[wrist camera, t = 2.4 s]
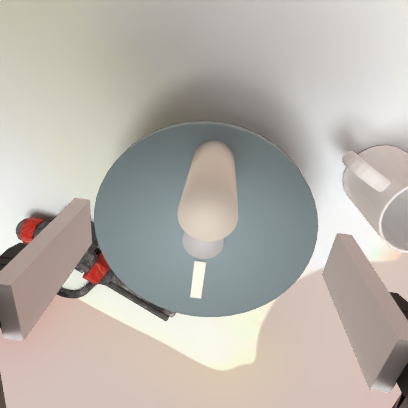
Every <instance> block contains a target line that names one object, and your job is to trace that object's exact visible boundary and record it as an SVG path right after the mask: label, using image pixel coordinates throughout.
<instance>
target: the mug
mask: <svg viewBox="0 0 408 408" xmlns="http://www.w3.org/2000/svg"><path fill="white" fill-rule="evenodd" d="M342 162H343V163H344V165H345V166H346V167H347V168H346V170H345V173H344V178H343V186H344V190H345V192H346V194H347V196H348V197H349V198H350V200H351V201H352V202H353V203H354V205H355V206H356V207H357V208H358V210H359V211H360V212H361V213H362V215H363V216H364V217H365V218H366V220H367V221H368V222H369V223H370V225H371V226H372V227H373V228H374V230H375V231H376V232H377V233H378V235H379V236H380V237H381V238H382V240H383V241H384V242H385V243H386V244H387V245H388V246H389V247H391V248H393V249H395V250H397V251H401V252H405V253H408V153H406V152H404V151H403V150H401V149H399V148H397V147H394V146H390V145H380V146H375V147H372V148H368V149H366V150H364V151H363V152H361V153H359V154H357V153H355V152H354V151H349V152H347V153H346V154H345V155H344V156H343V158H342Z"/></svg>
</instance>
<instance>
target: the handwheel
mask: <svg viewBox="0 0 408 408" xmlns="http://www.w3.org/2000/svg"><path fill="white" fill-rule="evenodd" d="M94 225H95V233H96V237H97V241H98V244H99V247H100V249H101V252H102V254H103V256H104V258H105V260H106V262H107V263H108V265H109V267H110V268H111V269H112V271H113V272H114V273H115V274H116V276H117V277H118V278H119V279H120V280H121V281H122V282H123V283H124V284H125V285H126V286H127V287H128V288H130V289H131V290H132V291H133V292H135V293H136V294H137V295H139V296H140V297H142V298H143V299H145V300H147V301H149V302H151V303H153V304H155V305H157V306H159V307H161V308H164V309H167V310H169V311H173V312H176V313H180V314H185V315H191V316H200V317H221V316H230V315H235V314H240V313H244V312H247V311H250V310H253V309H256V308H258V307H261V306H263V305H265V304H267V303H269V302H270V301H272V300H274V299H276V298H277V297H278V296H280V295H281V294H282V293H284V292H285V291H286V290H287V289H288V288H290V287H291V286H292V285H293V284H294V283H295V282H296V280H297V279H298V278H299V277H300V275H301V274H302V273H303V271H304V270H305V268H306V266H307V265H308V263H309V261H310V259H311V256H312V254H313V252H314V248H315V244H316V240H317V232H318V218H317V210H316V206H315V201H314V198H313V196H312V193H311V191H310V188H309V186H308V184H307V182H306V181H305V179H304V177H303V176H302V174H301V172H300V171H299V169H298V167H297V166H296V165H295V164H294V162H293V161H292V160H291V159H290V158H289V156H288V155H286V154H285V153H284V152H283V151H282V150H281V149H280V148H279V147H278V146H276V145H275V144H273V143H272V142H270V141H269V140H268V139H266V138H265V137H263V136H261V135H259V134H257V133H255V132H253V131H251V130H248V129H245V128H242V127H239V126H236V125H232V124H226V123H221V122H211V121H196V122H185V123H180V124H175V125H170V126H168V127H165V128H162V129H159V130H156V131H154V132H153V133H151V134H149V135H147V136H145V137H143V138H142V139H140V140H139V141H137V142H136V143H135V144H133V145H132V146H131V147H130V148H129V149H128V150H127V151H125V152H124V153H123V154H122V155H121V156H120V157H119V159H118V160H117V161H116V162H115V163H114V164H113V166H112V167H111V168H110V170H109V171H108V172H107V174H106V176H105V178H104V180H103V182H102V183H101V186H100V189H99V191H98V194H97V197H96V203H95V209H94Z"/></svg>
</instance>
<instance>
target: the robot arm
mask: <svg viewBox="0 0 408 408" xmlns="http://www.w3.org/2000/svg"><path fill="white" fill-rule="evenodd" d="M91 244H92V233H91V216H90V200H86V199H78V198H75V199H74V200H73V201H72V202H71V203H70V204H69V205H68V206H67V207H66V208H65V209H64V210H63V211H62V212H61V213H59V214H58V215H57V216H56V217H55V218H54V219H53V220H52V221H51V222H50V223H49V224H48V225H47V226H46V227H45V228H44V229H43V230H42V231H41V232H40V233H39V234H38V235H37V236H36V237H35V238H34V239H33V240H32V241H31V242H30V243H29V244H26V243H19V244H17V245H15V246H13V247H11V248H9V249H7V250H6V251H5V252H4V253H3V254H2V255H1V256H0V328H1V330H2V334H3V338H5V339H11V340H19V341H24V339H25V338H26V337H27V335H28V334H29V332H30V331H31V330H32V328H33V327H34V325H35V324H36V322H37V321H38V320H39V318H40V317H41V315H42V314H43V312H44V311H45V310H46V308H47V307H48V305H49V304H50V302H51V301H52V300H53V298H54V297H55V295H56V294H57V293H58V291H59V290H60V288H61V287H62V286H63V284H64V283H65V281H66V280H67V278H68V277H69V276H70V274H71V273H72V271H73V270H74V268H75V267H76V266H77V264H78V263H79V261H80V260H81V258H82V257H83V256H84V254H85V253H86V251H87V250H88V248H89V247H90V246H91ZM322 275H323V278H324V280H325V283H326V285H327V287H328V290H329V292H330V295H331V297H332V300H333V302H334V305H335V307H336V309H337V312H338V314H339V317H340V319H341V321H342V324H343V326H344V329H345V331H346V334H347V336H348V338H349V341H350V343H351V346H352V348H353V351H354V353H355V356H356V358H357V360H358V363H359V365H360V368H361V370H362V372H363V375H364V377H365V380H366V382H367V385H368V387H369V389H370V390H375V391H382V392H389V393H390V392H391V390H392V389H393V387H394V386H395V384H396V382H397V384H398V386H399V388H400V390H401V392H402V393H401V395H400V397H399V398H398V400H397V401H396V403H395V404H394V406H393V407H392V408H408V302H407V301H406V300H405V299H403V298H402V297H401V296H399V294H397V293H392V292H389V291H388V290H387V288H386V287H385V285H384V284H383V282H382V281H381V279H380V278H379V276H378V275H377V273H376V272H375V270H374V268H373V267H372V265H371V264H370V262H369V261H368V259H367V258H366V256H365V255H364V253H363V252H362V250H361V249H360V247H359V246H358V244H357V242H356V241H355V239H354V238H353V236H352V235H347V234H340V233H337V235H336V237H335V240H334V243H333V246H332V248H331V251H330V254H329V257H328V260H327V262H326V265H325V268H324V271H323V273H322ZM0 408H6V404H5V398H4V392H3V386H2V380H1V375H0Z"/></svg>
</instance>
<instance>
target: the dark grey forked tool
mask: <svg viewBox="0 0 408 408" xmlns="http://www.w3.org/2000/svg"><path fill="white" fill-rule="evenodd" d="M49 223H50V222H46V221H44V220H43V219H38V218H34V217H31V218H29V219H24V220H22V221H21V222H20V223H19V224H18V225H17V228H16V234H17V237H18V239H20V240H22V241H23V243H26V244H29V243H30V242H31V241H32V240H33V239H34V238H35V237H36V236H37V235H38V234H39V233H40V232H41V231H42V230H43V229H44V228H45V227H46V226H47V225H48V224H49ZM91 233H92V244H91V246H90V247H89V248H88V250H87V251H86V253H85V254H84V256H83V257H82V258H81V260H80V261H79V263H78V264H77V266H76V267H75V268H74V269H76V270H78V271H79V272H81V273H83V272H84V275H83V278H85V279H86V280H88V281H90V282H89V283H88V284H87V285H86V286H85V287H84V288H83V289H82V290H80V291H78V292H70V291H66V290H63V289H61V288H60V290H59V291H58V293H57V295H59V296H62V297H66V298H79V297H82V296H84V295H86V294H87V293H88V292H89V291H90V290H91V289H92V288H93V287H94V286H95V285H97V284H102V285H106V286H108V287H109V288H111V289H113V290H114V291H116V292H118V293H119V294H121V295H123V296H124V297H126V298H128V299H129V300H131V301H133V302H134V303H136V304H138V305H139V306H141V307H143V308H144V309H146V310H148V311H149V312H151V313H153V314H154V315H156V316H158V317H159V318H161V319H163V320H165V321H167V320H168V318H169V316H170V317H173V316H174V315H175V313H176V312H173V311H169V310H167V309H164V308H161V307H159V306H157V305H155V304H153V303H151V302H149V301H147V300H145V299H143V298H142V297H140V296H139V295H137V294H136V293H135V292H133V291H132V290H131V289H130V288H128V287H127V286H126V285H125V284H124V283H123V282H122V281H121V280H120V279H119V278H118V277H117V276H116V274H115V273H114V272H113V271H112V269H111V268H110V267H109V265H108V263H107V262H106V260H105V258H104V256H103V254H102V252H100V253H98V255H97V254H96V252H95V251H94V250H95V249H96V248H97V247H98V245H99V244H98V241H97V237H96V233H95V225H94V222H92V221H91Z"/></svg>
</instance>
